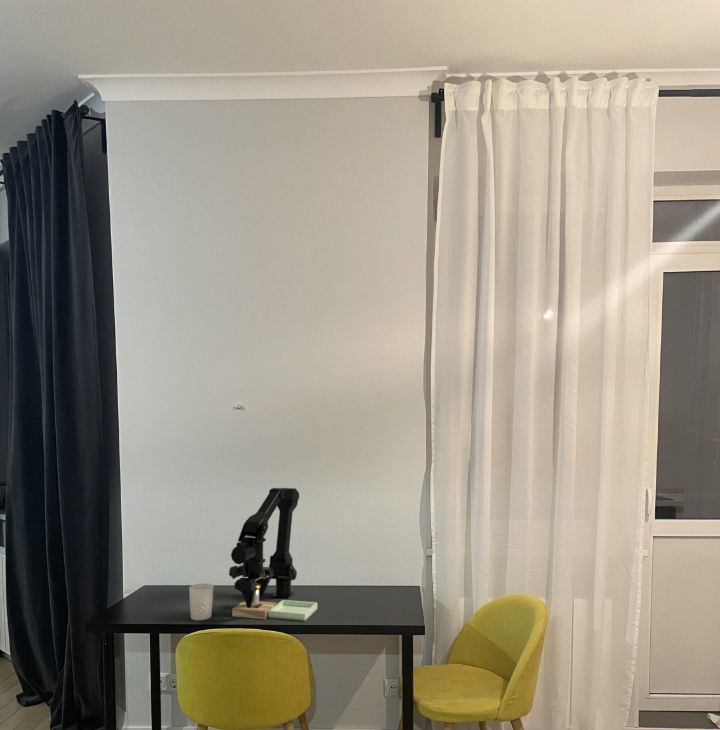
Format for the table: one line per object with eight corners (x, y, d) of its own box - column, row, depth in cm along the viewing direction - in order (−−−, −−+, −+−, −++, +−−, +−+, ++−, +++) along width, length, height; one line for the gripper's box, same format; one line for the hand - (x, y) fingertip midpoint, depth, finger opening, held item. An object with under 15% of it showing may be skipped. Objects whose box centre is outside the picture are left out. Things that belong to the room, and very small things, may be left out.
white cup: (189, 622, 192) (189, 591, 193) (188, 614, 199) (189, 584, 200) (213, 619, 194) (214, 588, 195) (212, 612, 202) (213, 582, 202)
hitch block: (244, 607, 206) (244, 600, 206) (276, 610, 202) (276, 602, 203) (232, 616, 197) (232, 608, 197) (265, 619, 194) (265, 611, 194)
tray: (282, 606, 207) (282, 599, 207) (317, 609, 203) (317, 602, 203) (268, 617, 195) (268, 611, 195) (304, 621, 192) (304, 614, 192)
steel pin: (251, 610, 202) (251, 583, 203) (262, 611, 201) (262, 584, 202) (246, 614, 198) (246, 586, 199) (257, 615, 197) (257, 587, 198)
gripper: (245, 549, 212) (245, 593, 211) (220, 562, 194) (219, 610, 193) (274, 551, 209) (274, 596, 208) (250, 564, 191) (250, 613, 190)
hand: (254, 603), depth 200 cm, fingers open, 8 cm apart
